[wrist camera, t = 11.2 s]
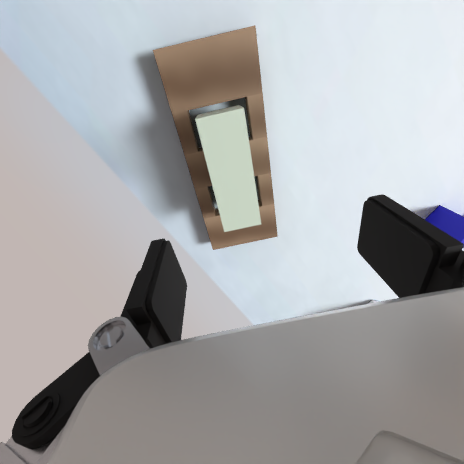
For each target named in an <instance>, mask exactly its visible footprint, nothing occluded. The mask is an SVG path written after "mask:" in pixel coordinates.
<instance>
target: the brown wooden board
mask: <svg viewBox="0 0 464 464" xmlns="http://www.w3.org/2000/svg"><path fill="white" fill-rule="evenodd" d="M153 52H154V56H155V59H156V62H157V66H158V69H159V72H160V75H161V79H162V82H163V85H164V89H165V92H166V95H167V99H168V102H169V105H170V109H171V112H172V115H173V119H174V122H175V125H176V129H177V132H178V135H179V138H180V142H181V145H182V148H183V152H184V155H185V158H186V162H187V165H188V168H189V172H190V175H191V178H192V182H193V185H194V188H195V192H196V195H197V198H198V201H199V205H200V208H201V211H202V215H203V218H204V221H205V225H206V228H207V231H208V235H209V238H210V241H211V245H212V248H213V250H215V249H220V248H225V247H229V246H234V245H239V244H244V243H248V242H253V241H258V240H263V239H268V238H272V237H277V227H276V217H275V208H274V198H273V189H272V179H271V170H270V160H269V151H268V142H267V132H266V123H265V113H264V104H263V94H262V85H261V75H260V66H259V56H258V47H257V37H256V28H255V26H251V27H247V28H243V29H239V30H235V31H230V32H226V33H222V34H218V35H214V36H210V37H205V38H201V39H197V40H193V41H189V42H185V43H181V44H176V45H172V46H168V47H164V48H160V49H156V50H153ZM244 97H245V103H246V110H247V117H248V124H249V131H250V137H248V138H249V145H250V151H251V158H252V165H253V171H254V176H256V180H257V187H258V194H259V200H258V205H259V211H260V218H261V224H260V225H256V226H251V227H246V228H242V229H237V230H232V231H227V232H224V229H223V225H222V221H221V217H220V213H219V210H218V209H215V207H214V203H213V200H212V196H211V192H210V188H209V186H212V182H211V179H210V175H209V171H208V167H207V163H206V159H205V155H204V151H203V148H202V147H201V148H199V147H198V143H197V139H196V135H195V131H194V128H193V124H192V120H191V116H190V113H189V110H191V109H196V108H200V107H204V106H209V105H213V104H217V103H222V102H226V101H231V100H235V99H239V98H244Z"/></svg>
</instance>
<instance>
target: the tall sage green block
mask: <svg viewBox="0 0 464 464" xmlns="http://www.w3.org/2000/svg"><path fill="white" fill-rule="evenodd" d="M195 121H196V124H197V128H198V132H199V136H200V140H201V144H202V148H203V151H204V155H205V159H206V163H207V167H208V171H209V175H210V179H211V182H212V186H213V190H214V194H215V198H216V202H217V206H218V210H219V213H220V217H221V221H222V225H223V229H224V232H227V231H232V230H237V229H242V228H246V227H251V226H256V225H260V224H261V218H260V211H259V205H258V198H257V191H256V185H255V178H254V171H253V165H252V158H251V151H250V145H249V138H248V131H247V125H246V118H245V111H244V108H243V107H241V106H240V105H237V106H233V107H228V108H224V109H220V110H215V111H211V112H207V113H203V114H198V115H197V117H196V119H195Z"/></svg>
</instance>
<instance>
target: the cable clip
mask: <svg viewBox="0 0 464 464" xmlns="http://www.w3.org/2000/svg"><path fill="white" fill-rule="evenodd" d="M425 220H426V221H428V222H429V223H431V224H432V225H434V226H436V227H437V228H439V229H440V230H442V231H444V232H445V233H447V234H449V235H450V236H452V237H453V238H455V239H457V240H458V241H460V242H462V243H463V244H464V217H463V216H461V215H459V214H457V213H455V212H453V211H451V210H449V209H447V208H445V207H443V206H441V205H439V206H438V207H437V208H436V209H435V210H434V211H433V212H432V213H431V214H430V215H429V216H428V217H427V218H426V219H425Z"/></svg>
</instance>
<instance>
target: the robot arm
mask: <svg viewBox="0 0 464 464" xmlns="http://www.w3.org/2000/svg"><path fill="white" fill-rule="evenodd" d="M463 246H464V244H463V243H462V242H460V241H458V240H457V239H455V238H453V237H452V236H450V235H449V234H447V233H445V232H444V231H442V230H440V229H439V228H437V227H436V226H434V225H432V224H431V223H429V222H428V221H426V220H424V219H423V218H421V217H419V216H418V215H416V214H415V213H413V212H411V211H410V210H408V209H406V208H405V207H403V206H402V205H400V204H398V203H397V202H395V201H394V200H392V199H390V198H389V197H387V196H385V195H377V196H372V197H369V198H368V199H367V201H365V202H364V205H363V212H362V219H361V226H360V232H359V239H358V246H357V248H358V252H359V253H360V255H361V256H362V257H363V258H364V259H365V260H366V261H367V262H368V264H369V265H370V266H371V267H372V268H373V269H374V270H375V271H376V272H377V274H378V275H379V276H380V277H381V278H382V279H383V280H384V281H385V282H386V284H387V285H388V286H389V287H390V288H391V289H392V290H393V291H394V292H395V294H396V295H397V296H398V297H399V298H397V299H392V300H386V301H381V302H375V303H370V304H364V305H359V306H353V307H348V308H343V309H337V310H332V311H327V312H321V313H316V314H311V315H305V316H300V317H295V318H289V319H284V320H279V321H274V322H269V323H263V324H258V325H253V326H248V327H243V328H238V329H232V330H227V331H222V332H217V333H213V334H208V335H203V336H198V337H194V338H189V339H184V340H181V333H182V325H183V316H184V307H185V298H186V290H187V283H186V280H185V277H184V275H183V272H182V270H181V267H180V265H179V263H178V260H177V258H176V255H175V253H174V250H173V248H172V246H171V243H170V241H166V240H165V239H159V240H154V241H152V242H151V244H150V247H149V249H148V252H147V255H146V257H145V260H144V263H143V265H142V268H141V270H140V271H139V272H138V273H137V275H136V278H135V281H134V283H133V286H132V288H131V291H130V294H129V296H128V299H127V301H126V304H125V306H124V309H123V312H122V314H121V317H115V318H113V319H110V320H108V321H106V322H105V323H103V324H102V325H101V326H99V327H98V328H97V329H96V330H95V332H94V333H93V334H92V336H91V338H90V340H89V344H88V349H89V353H87V354H86V355H85V356H84V357H83V358H81V359H80V360H79V361H78V362H76V363H75V364H74V365H73V366H72V367H70V368H69V369H68V370H67V371H66V372H65V373H63V374H62V375H61V376H59V377H58V378H57V379H56V380H55V381H53V382H52V383H51V384H50V385H49V386H47V387H46V388H45V389H44V390H42V391H41V392H40V393H39V394H38V395H36V396H35V397H34V398H33V399H32V400H31V401H30V402H29V403H28V404H27V405H26V406H25V408H24V409H23V410H22V411H21V413H20V414H19V416H18V418H17V419H16V421H15V424H14V427H13V430H12V437H11V438H10V439H9V440H8V442H7V443H6V444H5V443H3V442H1V443H0V464H464V251H462V248H463Z"/></svg>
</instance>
